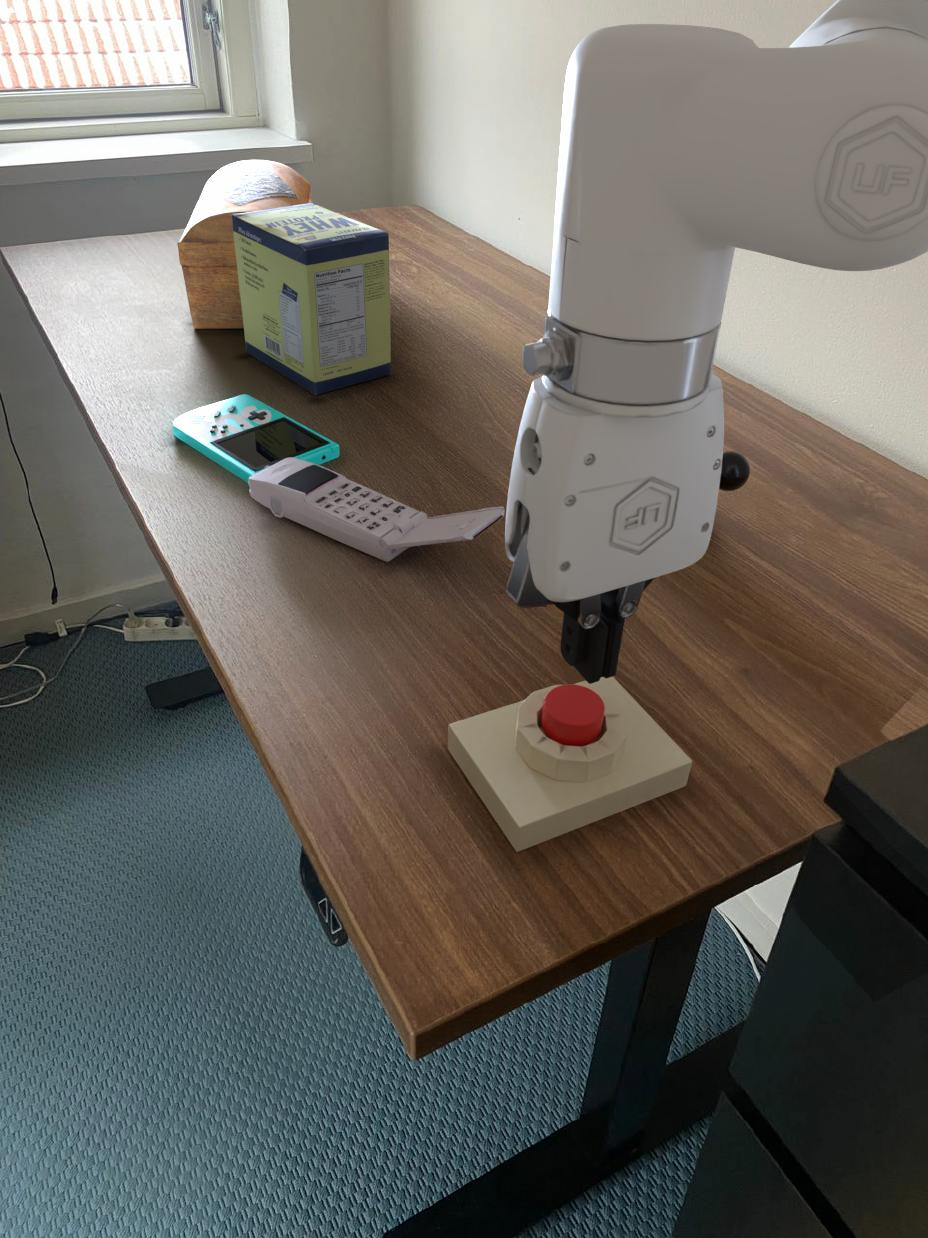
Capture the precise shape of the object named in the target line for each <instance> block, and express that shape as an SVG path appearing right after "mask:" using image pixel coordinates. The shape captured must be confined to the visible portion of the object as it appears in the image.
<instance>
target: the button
mask: <svg viewBox="0 0 928 1238" xmlns="http://www.w3.org/2000/svg"><path fill="white" fill-rule="evenodd" d="M560 685H561V686H558V687H555V688H553V689H552V690H550V691H549V692H548V693H547V695H546V696H545V698H544V704H543V712H542V721H541V724H542V728H543V730H544V732H545V734H546V735H547V736H548V737H549V738H550V739H552V740H553V741H555V742H558V743H560V744H562V745H566V746H584V745H588V744H590V743H592V742H593V741H595V740H596V739H597V738H598V737H599V735H600V733H601V728H602V723H603V717H604V711H605V706H604V703H603V700H602V699H601V697H600V696H599V695H598V694H597V693H596V692H594V691H593V690H591V689H589V688H586V687H583V686H580V685H573V684H560Z"/></svg>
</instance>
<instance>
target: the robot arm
mask: <svg viewBox="0 0 928 1238" xmlns="http://www.w3.org/2000/svg"><path fill="white" fill-rule="evenodd" d="M562 102H563V104H562V115H561V130H560V143H559V155H558V171H557V184H556V196H555V198H556V199H555V210H554V211H555V213H554V225H553V241H552V244H553V245H552V255H551V267H550V279H549V292H548V293H549V294H548V309H547V315H545V318H544V331H543V337H542V338H539V339H538V340H537V342H531V343H527V344H525V345H524V346H523V348H522V352H521V353H522V354H521V360H522V365H523V368H524V371H525V372H526V374H527V375H529V376H539V375H542V376H540V377H538V378H535V379H533V380H532V382H531V385H530V388H529V392H528V395H527V398H526V401H525V404H524V408H523V412H522V415H521V420H520V424H519V428H518V432H517V437H516V443H515V447H514V453H513V456H512V457H513V458H512V463H511V470H510V477H509V484H508V490H507V491H508V492H507V501H506V511H505V524H504V525H505V526H504V527H505V529H504V546H505V554H506V556H507V559H508V560H510V562H513V564H512V568H511V571H510V574H509V577H508V581H507V584H506V588H505V593H506V595H507V596H508V597H509V598H510V599H511V600H512V601H513V602H514V603H515V605H516V606H517V607H518V608H519V609H532V608H533V609H534V608H535V609H536V608H546V607H548V606H555V608H557V609H558V610H560V611H561V612H562V613H563V616H562V625H561V635H560V644H559V645H560V647H559V649H560V653H561V656H562V658H563V660H564V661H565V662H566V663H567V664H568V665H569V666H570V667H572V668H574V669H575V670H576V671H577V673H579V675H580V676H581V677H582V678H583V679H584V681H585V680H586V681H587V682H588V683H589V684H592V683H595V682H598V681H599V680H600V678H601V677H604V678H610V677H615V676H616V674H617V670H618V664H619V658H620V657H619V656H620V651H621V647H622V641H623V634H624V629H625V622H626V619H627V618H631V616H633V615H634V614H635V613H636V612H637V610H638V608H639V606H640V602H641V599H642V596H643V592H644V591H645V590H646V589H647V587H648V586H650V585H651V584H652V582H653V581H654V580H655V579H656V578H658V577H662V576H665V575H668V574H672V573H674V572H678V571H681V570H684V569H686V568H688V567H690V566H692V565H694V564H695V563H697V562H698V561H699V560H701V559H702V558H703V557H704V555H706V552H707V550H708V549H709V545H710V541H711V537H712V533H713V530H714V529H713V528H714V524H715V518H716V512H717V506H718V500H719V499H718V498H719V493H720V489H719V485H720V477H721V470H722V459H723V452H724V444H725V406H724V405H725V404H724V392H723V389H724V388H723V382H722V380H721V378H720V377H719V376H718V375H717V374H715V373H713V369H714V365H715V358H716V353H717V346H718V343H719V337H720V331H721V326H722V319H723V313H724V308H725V304H726V298H727V292H728V287H729V283H730V282H729V281H730V276H731V271H732V266H733V260H734V255H735V251H736V248H737V249H741V250H745V251H751V252H755V253H758V254H762V255H766V256H771V257H775V258H778V259H781V260H782V259H783V260H786V261H790V262H794V263H798V264H802V265H806V266H810V267H815V268H821V269H826V270H833V271H839V272H841V271H843V272H868V271H869V272H870V271H876V270H883V269H886V268H891V267H894V266H897V265H901V264H903V263H906V262H909V261H912V260H914V259H916V258H918V257H920V256H922V255H924V254H926V253H927V252H928V0H836V1H835V2H833V4H832V5H831V6H829V8H827V9H826V10H825V11H824V12H823V13H822V14H820V16H819V17H817V19H816V20H814V21H813V22H812V23H811V24H810V25H809V26H808V27H807V28H806V29H805V30H804V31H803V32H802V33H800V35H799V36H798V37H797V38H796V39H795V40H794V41H793V42H792V43H791V44H790V45H789V46H788V47H759V46H758V45H757V43H756V42H755V41H754V40H753V39H751V38H749V37H748V36H746V35H744V34H742V33H740V32H736V31H732V30H729V29H728V30H727V29H724V28H719V27H713V26H712V27H711V26H703V25H702V26H701V25H690V24H673V23H672V24H670V23H668V24H667V23H635V24H634V23H632V24H620V25H612V26H607V27H602V28H599V29H597V30H595V31H592V32H589V33H588V34H587V35H586V36H585V37H584V38H583V39H581V40H580V41H579V43H578V44H577V45H576V47H575V48H574V50H573V52H572V53H571V56H570V58H569V61H568V65H567V69H566V74H565V82H564V90H563V100H562Z"/></svg>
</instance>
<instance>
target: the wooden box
mask: <svg viewBox="0 0 928 1238" xmlns="http://www.w3.org/2000/svg"><path fill="white" fill-rule="evenodd" d="M308 203H313V195H312V188H311V184H310V182H309V181H308V180H307V179H306V178H305V177H303V175H302V174H300V173H299V172H298V171H296V170H295V169H293V168H292V167H290V166H288V165H285V164H284V163H280V162H277V161H272V160H267V159H266V160H265V159H246V160H239V161H236V162H232V163H229V164H226V165H225V166H223V167H221V168H220V169H218V170H217V171H216V172H215V173H214V174H212V175H211V177H210V178H209V179H208V180H207V181H206V182H205V185H204V187H203V189H202V192H201V194H200V196H199V199H198V200H197V202H196V205H195V207H194V209H193V212H192V214H191V216H190V219H189V221H188V223H187V224H186V227H185V229H184V231H183V234H182V235H181V237H180V238H179V239H180V240H179V241H178V242H177V243H176V244H177V251H178V258H179V265H180V266H181V271H182V274H183V280H184V287H185V292H186V297H187V302H188V308H189V313H190V316H191V321H192V327H193V329H195V330H205V329H206V330H207V329H208V330H209V329H210V330H211V329H216V330H219V329H220V330H222V329H225V330H227V329H244V325H243V316H242V305H241V297H240V288H239V279H238V270H237V261H236V252H235V242H234V233H233V223H232V216H231V215H232V214H239V213H246V212H253V211H260V210H267V209H274V208H281V207H288V206H294V205H301V204H308Z"/></svg>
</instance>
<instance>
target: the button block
mask: <svg viewBox="0 0 928 1238" xmlns="http://www.w3.org/2000/svg"><path fill="white" fill-rule="evenodd" d="M561 685H562V684H554V685H551V686H547V687H543V688H541V689H538V690H534V691H532V692H531V693H530V694H529V695H528V696H527V697H526V698H525V699H523V700H519V701H517V702H514V703H510V704H508V705H505V706H501V707H499V708H496V709H495V708H494V709H492V710H489V711H486V712H483V713H480V714H476V715H474V716H469V717H467V718H464V719H462V720H458V721H455V722H452V723H449V724H448V727H447V728H448V732H447V750H448V752H449V754H450V755H451V756H452V758H453V759H454V761H455V762H456V764H457V765H458V768H460V770H461V771H462V774H464V776H465V777H466V779H467V780H468V782H469V783H470V785H471V787H472V788H473V790H474V792H476V794H477V795H478V797H479V799H480V800H481V802H482V803H483V804H484V806H485V807H486V809H487V810H488V812H489V814H490V815H491V816H492V818H493V820H494V821H495V822H496V824H497V825H498V827H499V828H500V830H501V831H502V833H503V834H504V836H505V837H506V839H507V840H508V841H509V843H510V846H512V847H513V849H514V851H515V852H516V853H519V852H521V851H523V850H526V849H529V848H532V847H534V846H536V845H539V844H542V843H544V842H547V841H550V840H552V839H555V838H557V837H559V836H560V837H561V836H562V835H565V834H567V833H569V832H573V831H575V830H577V829H581V828H582V827H585V826H587V825H590V824H593V823H595V822H598V821H600V820H603V819H605V818H608V817H610V816H614V815H616V814H618V813H621V812H623V811H626V810H628V809H631V808H634V807H636V806H638V805H642V804H644V803H646V802H649V801H651V800H654V799H656V798H660V797H662V796H664V795H666V794H669V793H672V792H674V791H677V790H679V789H683V788H685V787H687V784H688V780H689V776H690V772H691V769H692V766H693V760H692V759H691V758H690V757H689V756H688V755H687V754H686V753H685V752H684V751H683V749H682V748H681V747H680V746H679V745H678V744H677V743H676V742H675V740H673V739H672V738H671V737H670V736H669V735H668V734H667V732H665V730H664V729H663V728H662V727H661V726H660V725H659V724H658V723H657V722H656V721H655V720H654V719H653V718H652V716H650V714H648V712H647V711H646V710H645V709H644V708H643V707H642V706H641V704H639V702H637V701H636V699H635V698H634V697H633V696H632V695H631V694H630V693H629V692H628V691H627V690H626V688H625V687H624V686H622V684H620V683H619V681H618V680H617V679H616V678H615V676H613V677H610V678H604V677H601V678H600V680H599V681H598V682H595V683H592V684H589V683H588V682H587V681H586V680H585V679H584V680H582V681H578V682H576V683H573V684H572V685H580V686H583V687H586V688H589V689H591V690H593V691H594V692H596V693H597V694H598V695H599V696H600V697H601V699H602V700H603V703H604V706H605V711H604V717H603V723H602V728H601V733H600V735H599V737H598V738H597V739H596V740H595V741H593V742H592V743H590V744H588V745H584V746H566V745H562V744H560V743H558V742H555V741H553V740H552V739H550V738H549V737H548V736H547V735H546V734H545V732H544V730H543V728H542V724H541V721H542V712H543V704H544V698H545V696H546V695H547V693H548V692H549V691H550V690H552V689H553V688H555V687H558V686H561Z"/></svg>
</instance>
